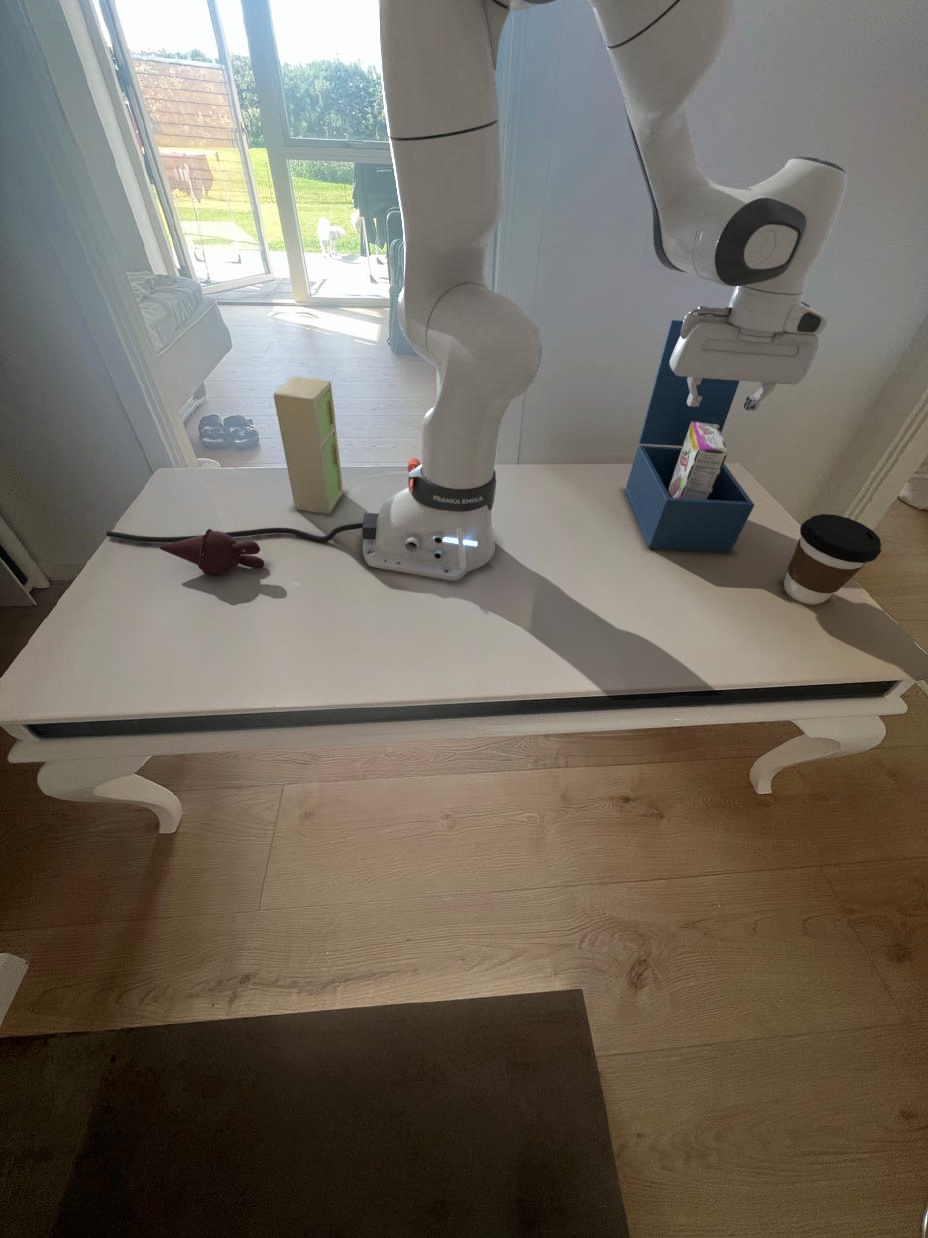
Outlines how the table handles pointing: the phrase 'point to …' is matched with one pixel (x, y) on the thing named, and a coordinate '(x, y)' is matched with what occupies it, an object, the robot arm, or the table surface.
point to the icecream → (216, 552)
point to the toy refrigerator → (310, 443)
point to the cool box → (684, 506)
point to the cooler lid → (682, 400)
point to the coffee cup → (828, 557)
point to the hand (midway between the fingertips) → (720, 407)
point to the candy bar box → (698, 462)
